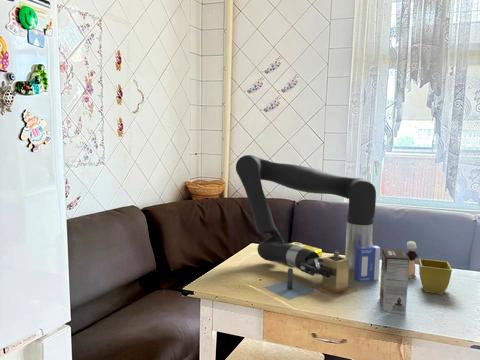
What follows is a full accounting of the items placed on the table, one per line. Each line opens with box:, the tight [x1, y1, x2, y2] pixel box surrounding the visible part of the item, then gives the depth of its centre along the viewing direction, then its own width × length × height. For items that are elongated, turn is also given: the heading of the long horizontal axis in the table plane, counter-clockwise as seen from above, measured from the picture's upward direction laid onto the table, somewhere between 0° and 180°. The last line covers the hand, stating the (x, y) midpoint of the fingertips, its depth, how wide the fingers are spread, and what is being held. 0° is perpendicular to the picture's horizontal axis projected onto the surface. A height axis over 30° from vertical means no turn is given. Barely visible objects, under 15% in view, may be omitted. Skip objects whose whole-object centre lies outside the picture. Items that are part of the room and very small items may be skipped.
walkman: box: [354, 245, 381, 282], centre depth 141 cm, size 8×3×12 cm, turn 102°
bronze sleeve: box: [321, 254, 350, 294], centre depth 132 cm, size 6×6×10 cm
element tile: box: [289, 241, 323, 258], centre depth 166 cm, size 15×15×5 cm
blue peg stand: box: [263, 267, 317, 300], centre depth 131 cm, size 12×12×7 cm
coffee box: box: [379, 248, 410, 315], centre depth 120 cm, size 9×6×16 cm
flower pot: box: [418, 258, 453, 295], centre depth 133 cm, size 9×9×9 cm
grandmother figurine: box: [406, 240, 419, 279], centre depth 146 cm, size 8×4×13 cm, turn 135°
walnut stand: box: [311, 251, 358, 298], centre depth 132 cm, size 10×10×12 cm
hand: (339, 271), depth 131 cm, fingers open, 8 cm apart
